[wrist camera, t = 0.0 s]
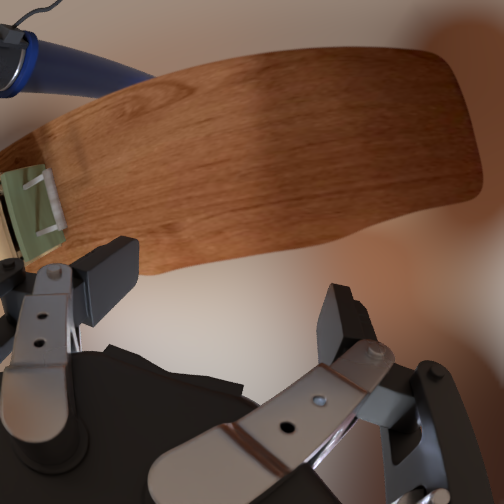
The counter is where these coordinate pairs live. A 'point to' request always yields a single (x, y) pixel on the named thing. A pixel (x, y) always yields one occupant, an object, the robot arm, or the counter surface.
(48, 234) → the drawer
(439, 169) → the counter surface
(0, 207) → the cabinet
